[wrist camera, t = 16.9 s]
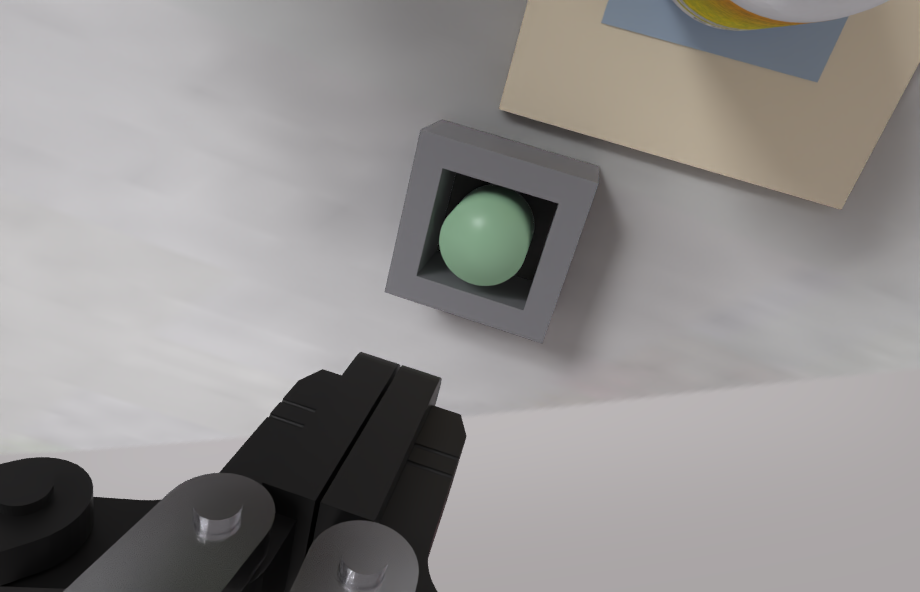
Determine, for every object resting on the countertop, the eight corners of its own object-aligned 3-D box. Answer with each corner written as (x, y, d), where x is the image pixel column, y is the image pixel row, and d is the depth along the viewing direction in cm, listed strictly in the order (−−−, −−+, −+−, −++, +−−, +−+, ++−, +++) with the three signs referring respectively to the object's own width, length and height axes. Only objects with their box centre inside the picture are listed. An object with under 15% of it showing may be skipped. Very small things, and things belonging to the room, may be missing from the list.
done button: (466, 174, 23) (451, 188, 21) (544, 198, 23) (538, 215, 20) (446, 249, 24) (430, 270, 22) (521, 272, 24) (512, 297, 22)
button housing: (442, 119, 23) (420, 129, 20) (599, 166, 23) (598, 183, 20) (407, 265, 26) (384, 292, 23) (548, 311, 25) (542, 343, 22)
